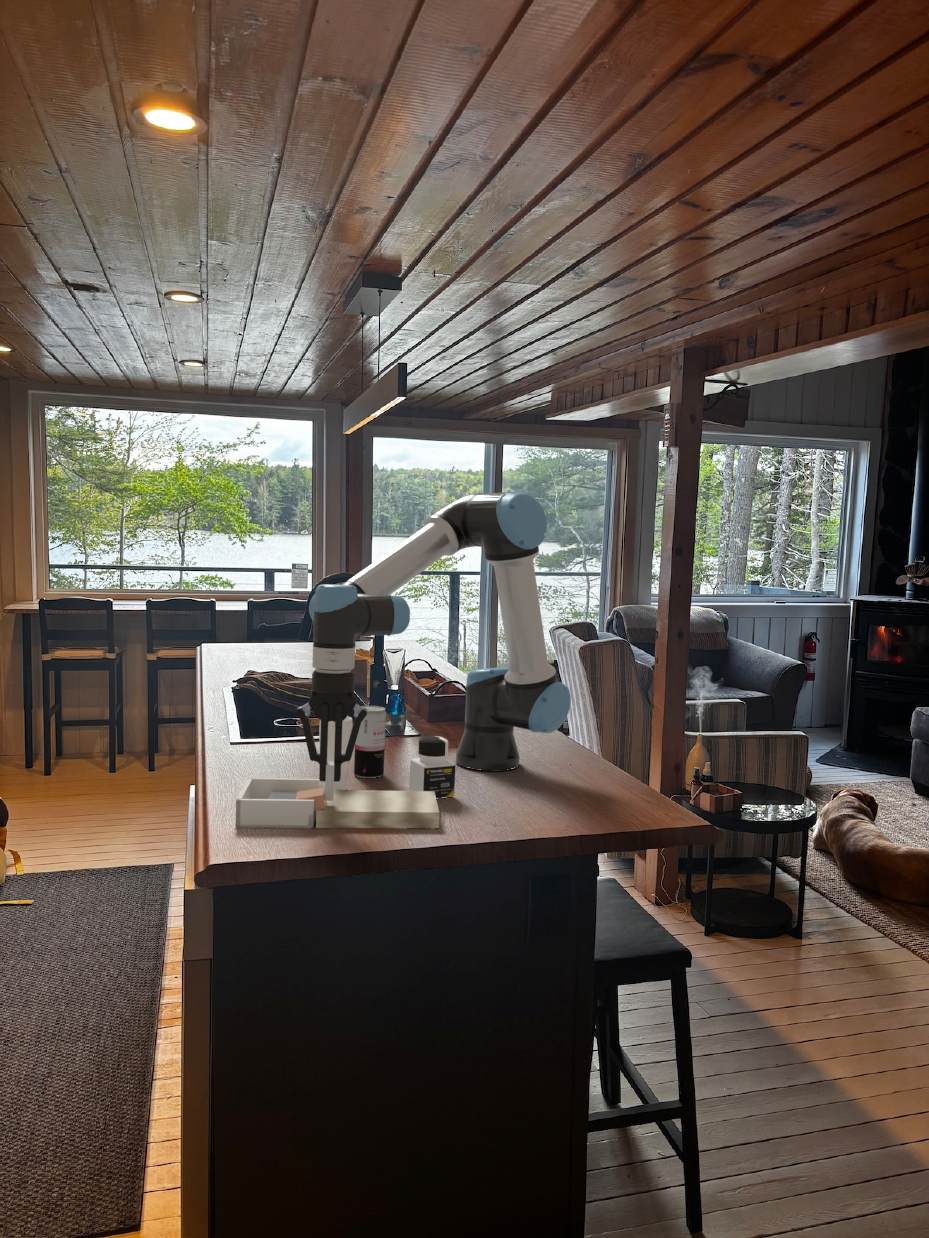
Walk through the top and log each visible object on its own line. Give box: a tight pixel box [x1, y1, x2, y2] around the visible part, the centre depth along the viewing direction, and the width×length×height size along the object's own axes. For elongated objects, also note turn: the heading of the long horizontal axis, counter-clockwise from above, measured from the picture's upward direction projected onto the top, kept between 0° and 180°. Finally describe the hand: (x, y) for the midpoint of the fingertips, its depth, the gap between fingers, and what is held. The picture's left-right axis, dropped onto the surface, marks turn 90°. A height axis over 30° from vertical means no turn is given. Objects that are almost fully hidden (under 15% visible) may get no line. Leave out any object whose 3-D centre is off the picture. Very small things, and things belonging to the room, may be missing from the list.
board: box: [315, 789, 440, 830], centre depth 164 cm, size 22×14×3 cm, turn 96°
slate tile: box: [268, 792, 297, 799], centre depth 165 cm, size 5×5×2 cm
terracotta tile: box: [296, 787, 327, 810], centre depth 159 cm, size 5×5×2 cm
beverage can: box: [353, 705, 387, 779], centre depth 193 cm, size 6×6×15 cm
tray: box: [235, 777, 320, 829], centre depth 162 cm, size 14×15×5 cm
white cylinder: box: [318, 715, 354, 790], centre depth 181 cm, size 7×7×15 cm
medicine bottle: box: [408, 735, 456, 798], centre depth 180 cm, size 7×7×12 cm
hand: (329, 798), depth 160 cm, fingers closed
